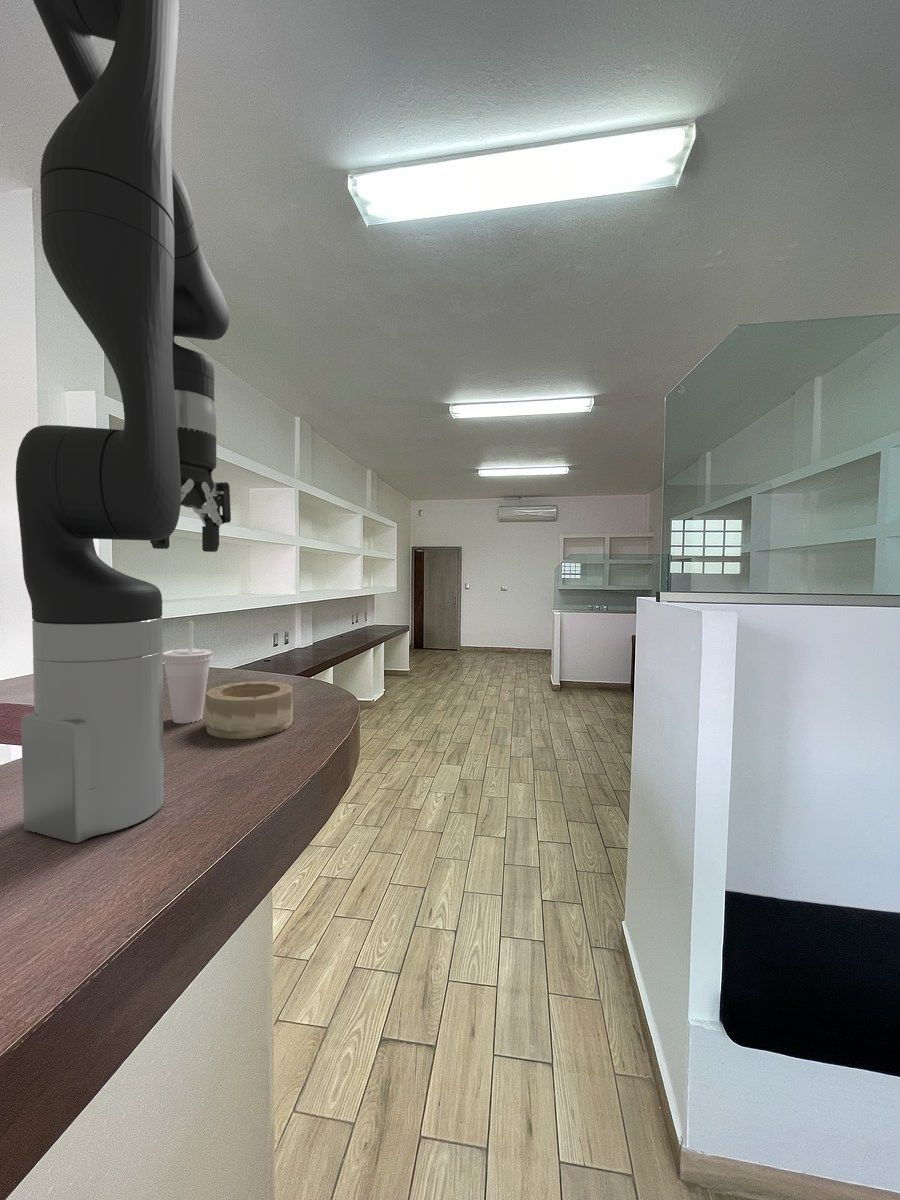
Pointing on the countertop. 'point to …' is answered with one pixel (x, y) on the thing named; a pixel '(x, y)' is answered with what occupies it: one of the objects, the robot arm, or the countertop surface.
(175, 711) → the smoothie
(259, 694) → the ring
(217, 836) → the countertop surface
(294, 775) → the countertop surface
